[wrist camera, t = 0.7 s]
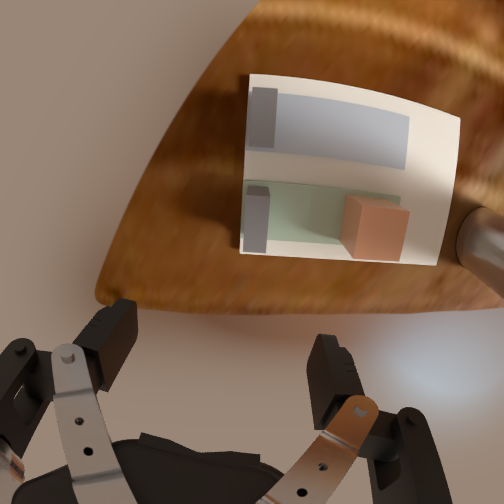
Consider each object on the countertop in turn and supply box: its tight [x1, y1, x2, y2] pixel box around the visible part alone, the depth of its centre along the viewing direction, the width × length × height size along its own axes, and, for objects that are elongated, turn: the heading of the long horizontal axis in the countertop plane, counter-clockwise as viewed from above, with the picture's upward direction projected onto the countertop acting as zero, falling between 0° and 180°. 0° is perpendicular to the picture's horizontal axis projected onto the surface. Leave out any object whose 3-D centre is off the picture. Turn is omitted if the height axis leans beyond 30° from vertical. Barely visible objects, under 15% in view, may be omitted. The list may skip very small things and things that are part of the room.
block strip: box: [240, 180, 401, 253], centre depth 27 cm, size 17×6×6 cm, turn 87°
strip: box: [245, 87, 410, 170], centre depth 24 cm, size 17×6×6 cm, turn 87°
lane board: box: [240, 74, 460, 265], centre depth 29 cm, size 25×19×1 cm
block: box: [339, 194, 410, 262], centre depth 27 cm, size 5×5×5 cm
